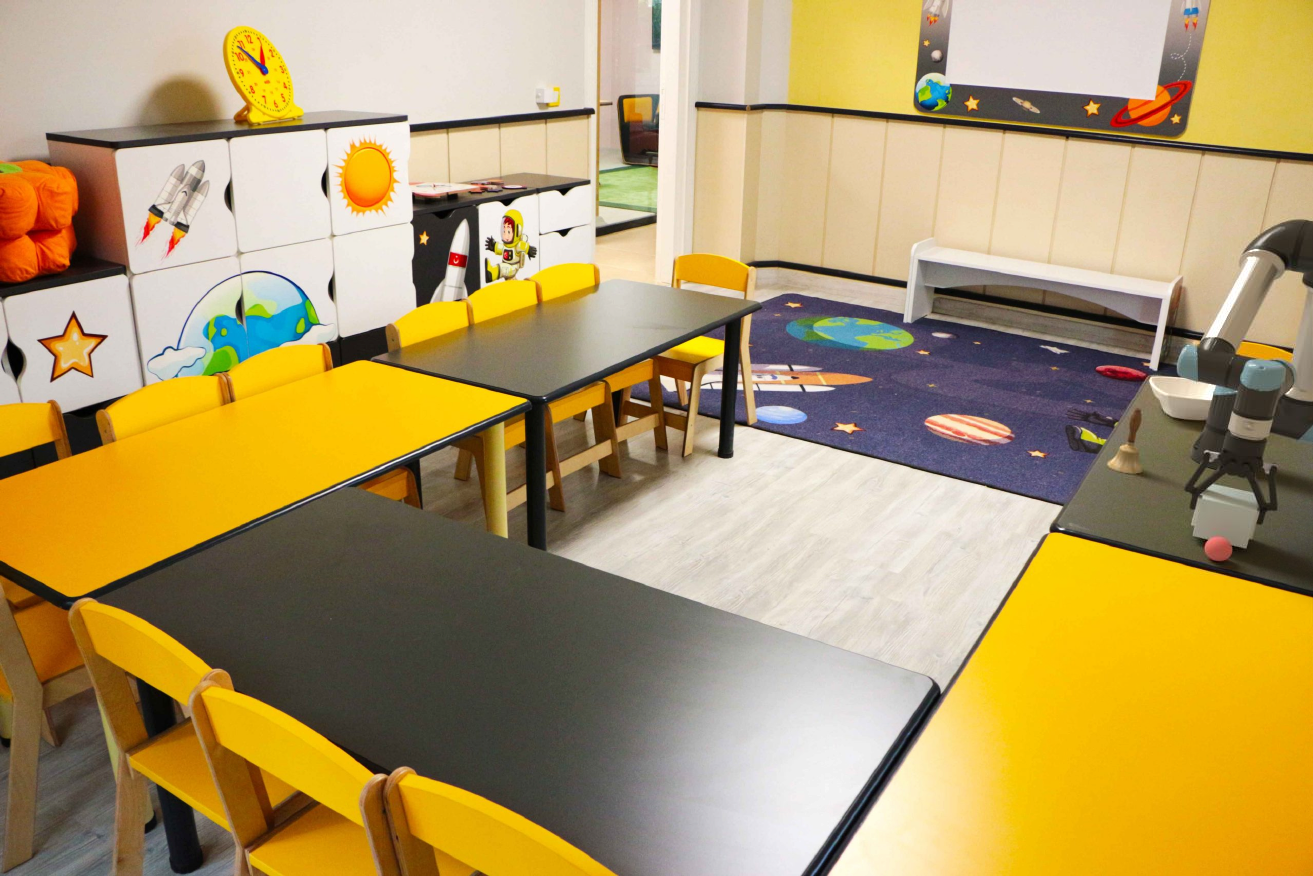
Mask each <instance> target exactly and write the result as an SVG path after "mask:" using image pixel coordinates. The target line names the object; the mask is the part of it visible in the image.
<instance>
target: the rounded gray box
mask: <svg viewBox="0 0 1313 876" xmlns="http://www.w3.org/2000/svg"><path fill="white" fill-rule="evenodd" d="M1202 494H1203V496H1202V500H1201V504H1200V508H1199V512H1198V516H1197V520H1196V523H1195V526H1193V527H1194V528H1193V532H1192V537H1196V538H1200V539H1204V540H1207V541H1208V540H1209V539H1211V538H1213V537H1222V538H1225V539H1227V540H1228V541H1229V542H1230V544H1231V546H1234V547H1239V548H1242V549H1247V546H1248V544H1249V540H1250V539H1249V537H1250V533H1251V530H1252V526H1253V523H1254V519H1255V516H1256V512H1257V507H1258V503H1257V500H1256V498H1255V495H1254V493H1253V491H1252V492H1251V491H1247V490H1241V489H1238V488H1234V487H1233V488H1232V487H1229V486H1225V485H1219V484H1215V483H1213V484H1212V485H1211V486H1210V487H1208V488H1207V489H1206V490H1205V491H1204V492H1203V493H1202Z"/></svg>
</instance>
